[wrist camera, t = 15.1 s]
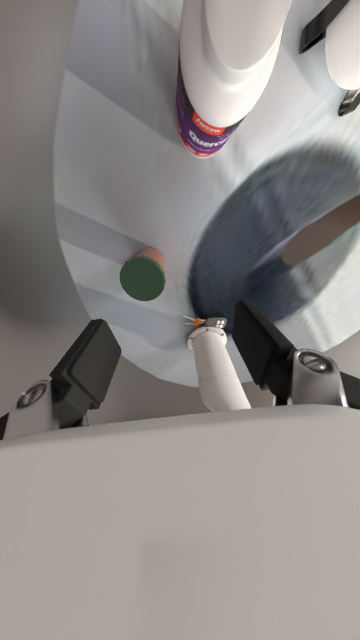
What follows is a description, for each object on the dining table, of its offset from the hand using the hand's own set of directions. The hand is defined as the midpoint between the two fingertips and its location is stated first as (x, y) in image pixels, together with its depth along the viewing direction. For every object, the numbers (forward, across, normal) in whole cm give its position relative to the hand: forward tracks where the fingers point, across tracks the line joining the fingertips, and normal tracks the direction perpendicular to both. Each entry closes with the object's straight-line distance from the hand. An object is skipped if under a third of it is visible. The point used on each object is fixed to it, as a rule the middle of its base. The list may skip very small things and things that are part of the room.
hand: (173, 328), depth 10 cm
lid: (+15, +5, +2) cm, 16 cm away
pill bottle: (+25, -7, -16) cm, 31 cm away
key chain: (+26, -6, +20) cm, 33 cm away
